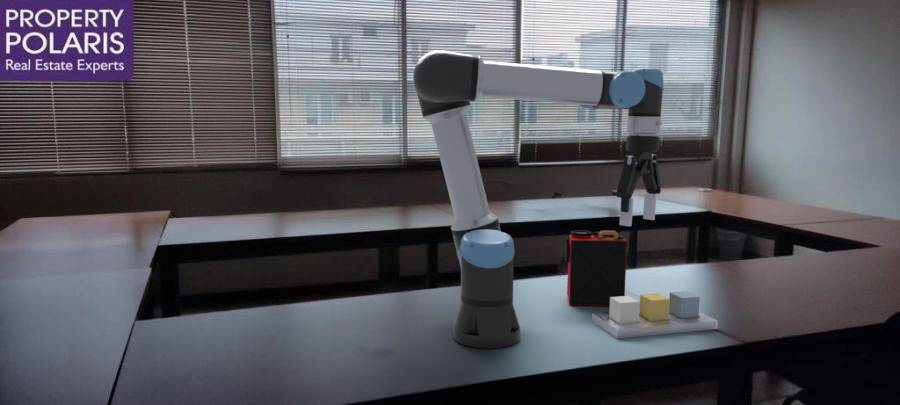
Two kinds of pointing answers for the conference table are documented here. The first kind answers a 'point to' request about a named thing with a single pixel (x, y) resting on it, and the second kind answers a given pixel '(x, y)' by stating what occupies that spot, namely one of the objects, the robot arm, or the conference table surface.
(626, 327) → the key panel
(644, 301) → the mustard key
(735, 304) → the conference table surface
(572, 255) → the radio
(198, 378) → the conference table surface
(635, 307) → the ivory key
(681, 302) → the slate key
